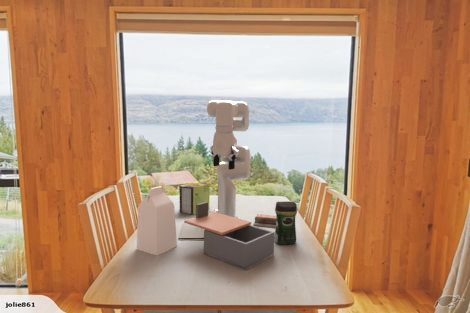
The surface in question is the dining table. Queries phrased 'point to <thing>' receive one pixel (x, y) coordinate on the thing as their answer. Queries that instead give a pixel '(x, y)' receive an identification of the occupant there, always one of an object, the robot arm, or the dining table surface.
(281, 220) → the coffee jar
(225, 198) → the robot arm
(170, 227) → the milk
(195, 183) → the protein box
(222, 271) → the dining table surface
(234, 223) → the lid
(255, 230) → the carton
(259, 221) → the packaged product
